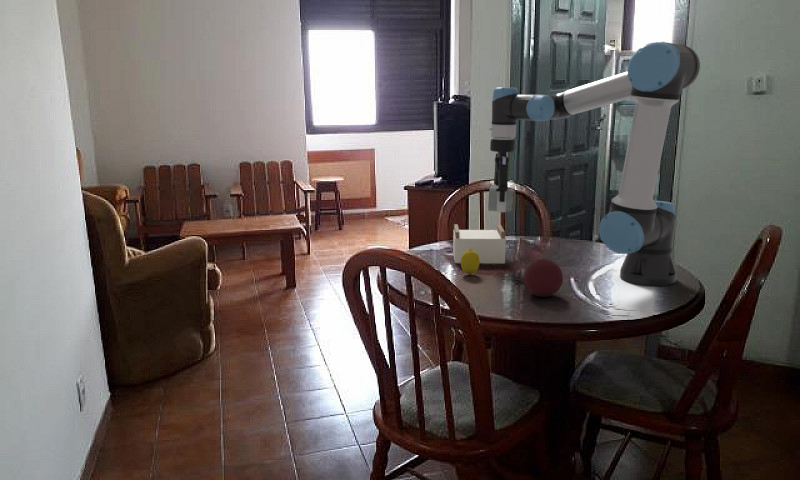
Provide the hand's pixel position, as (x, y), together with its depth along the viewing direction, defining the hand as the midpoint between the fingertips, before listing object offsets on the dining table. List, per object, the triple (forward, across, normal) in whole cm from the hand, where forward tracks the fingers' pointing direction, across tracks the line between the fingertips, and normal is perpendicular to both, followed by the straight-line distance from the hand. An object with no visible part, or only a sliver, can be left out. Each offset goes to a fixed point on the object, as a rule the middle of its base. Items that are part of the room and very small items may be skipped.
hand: (499, 208), depth 200 cm
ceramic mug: (+1, 0, 0) cm, 1 cm away
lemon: (+17, +18, -10) cm, 27 cm away
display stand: (+17, -3, -6) cm, 19 cm away
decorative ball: (+16, +38, +9) cm, 42 cm away
